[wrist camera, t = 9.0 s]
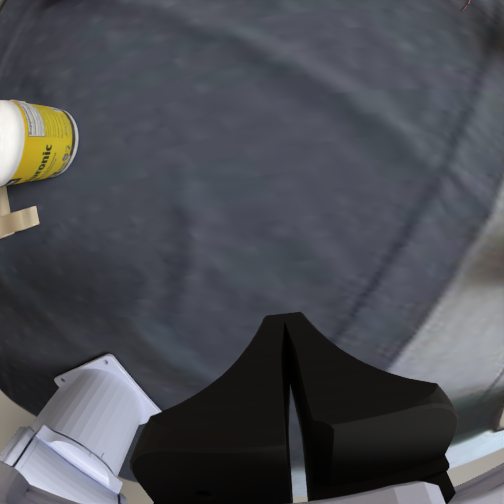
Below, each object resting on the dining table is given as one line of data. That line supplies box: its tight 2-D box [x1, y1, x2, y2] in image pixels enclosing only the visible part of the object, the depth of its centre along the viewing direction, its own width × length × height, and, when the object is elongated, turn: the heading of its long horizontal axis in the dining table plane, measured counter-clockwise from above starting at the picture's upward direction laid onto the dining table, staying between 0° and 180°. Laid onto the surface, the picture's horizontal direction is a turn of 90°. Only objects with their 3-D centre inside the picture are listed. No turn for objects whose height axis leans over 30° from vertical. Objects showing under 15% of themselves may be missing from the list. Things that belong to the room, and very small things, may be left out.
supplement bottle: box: [0, 100, 78, 187], centre depth 14 cm, size 5×5×10 cm
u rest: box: [0, 100, 39, 239], centre depth 19 cm, size 5×11×2 cm, turn 7°
